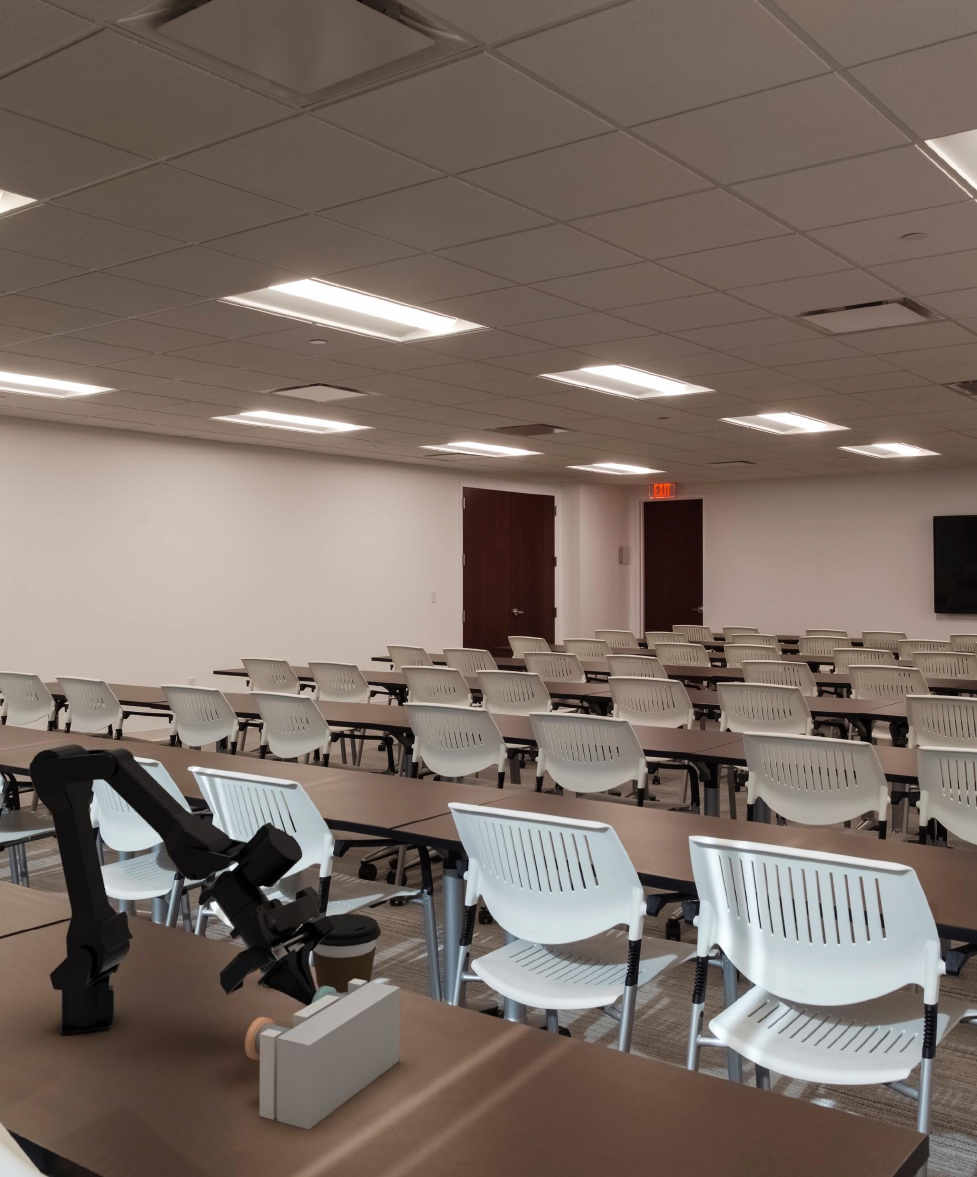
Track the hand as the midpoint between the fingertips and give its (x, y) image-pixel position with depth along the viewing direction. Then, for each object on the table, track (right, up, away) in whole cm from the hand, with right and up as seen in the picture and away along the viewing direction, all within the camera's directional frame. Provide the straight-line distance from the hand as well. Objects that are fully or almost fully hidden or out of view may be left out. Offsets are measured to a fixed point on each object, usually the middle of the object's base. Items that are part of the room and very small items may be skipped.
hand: (316, 1005), depth 139 cm
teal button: (+3, -3, 0) cm, 4 cm away
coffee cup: (+1, -7, +19) cm, 20 cm away
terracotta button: (-3, -3, -11) cm, 12 cm away
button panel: (+3, -7, -7) cm, 11 cm away
